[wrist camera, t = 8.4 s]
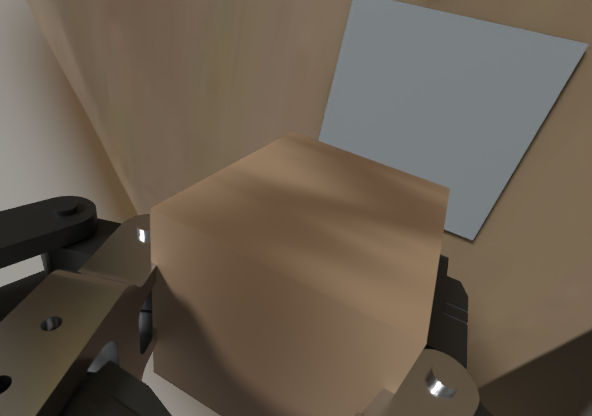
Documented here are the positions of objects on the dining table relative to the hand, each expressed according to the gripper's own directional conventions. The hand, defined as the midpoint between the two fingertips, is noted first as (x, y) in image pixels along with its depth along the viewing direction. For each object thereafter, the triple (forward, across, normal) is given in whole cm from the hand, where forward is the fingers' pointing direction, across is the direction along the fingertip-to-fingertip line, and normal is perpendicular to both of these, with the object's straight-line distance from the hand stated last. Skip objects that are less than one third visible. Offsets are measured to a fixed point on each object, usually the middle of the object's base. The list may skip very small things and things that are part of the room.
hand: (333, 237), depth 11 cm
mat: (+18, 0, 0) cm, 18 cm away
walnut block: (+1, 0, 0) cm, 1 cm away
